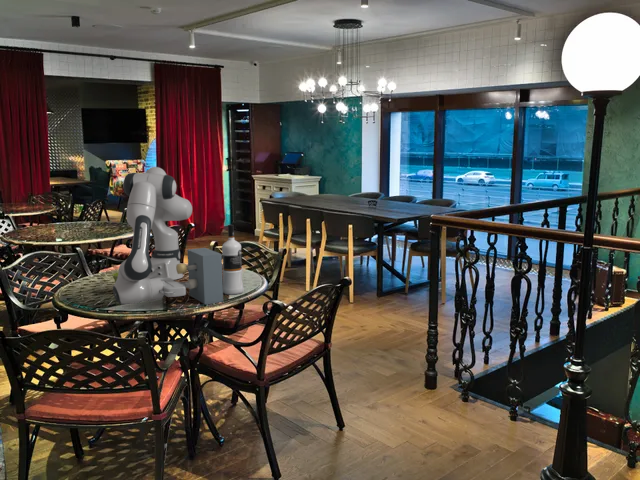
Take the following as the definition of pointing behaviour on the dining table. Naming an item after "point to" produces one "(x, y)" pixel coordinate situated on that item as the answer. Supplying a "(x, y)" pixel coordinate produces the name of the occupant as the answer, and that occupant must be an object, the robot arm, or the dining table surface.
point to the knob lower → (193, 283)
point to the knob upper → (184, 268)
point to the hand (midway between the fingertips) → (188, 284)
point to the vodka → (232, 265)
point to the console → (206, 275)
